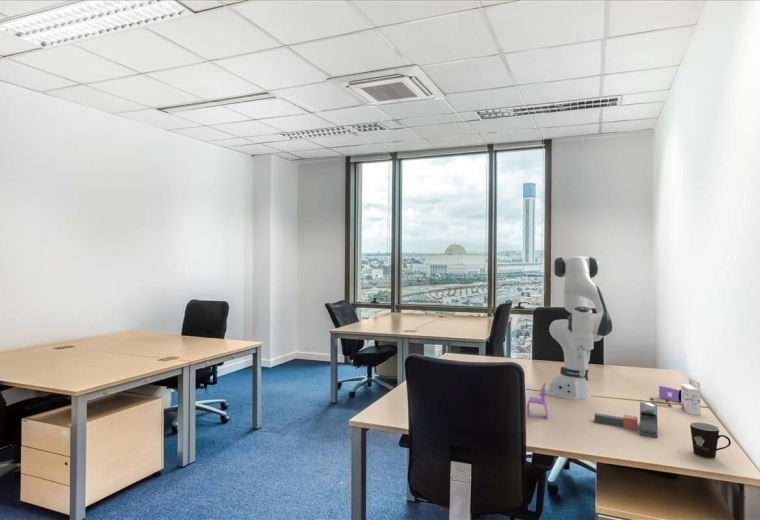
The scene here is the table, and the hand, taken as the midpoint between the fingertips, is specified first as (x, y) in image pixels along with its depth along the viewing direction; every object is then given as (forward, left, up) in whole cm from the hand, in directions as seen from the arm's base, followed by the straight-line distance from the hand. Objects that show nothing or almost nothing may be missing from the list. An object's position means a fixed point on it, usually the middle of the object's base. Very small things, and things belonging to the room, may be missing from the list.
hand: (582, 375), depth 201 cm
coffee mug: (+43, -19, -19) cm, 51 cm away
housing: (+25, 0, -19) cm, 31 cm away
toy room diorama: (+37, +56, -20) cm, 70 cm away
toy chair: (-18, -6, -19) cm, 27 cm away
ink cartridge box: (+42, +37, -19) cm, 59 cm away
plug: (+13, 0, -19) cm, 23 cm away
